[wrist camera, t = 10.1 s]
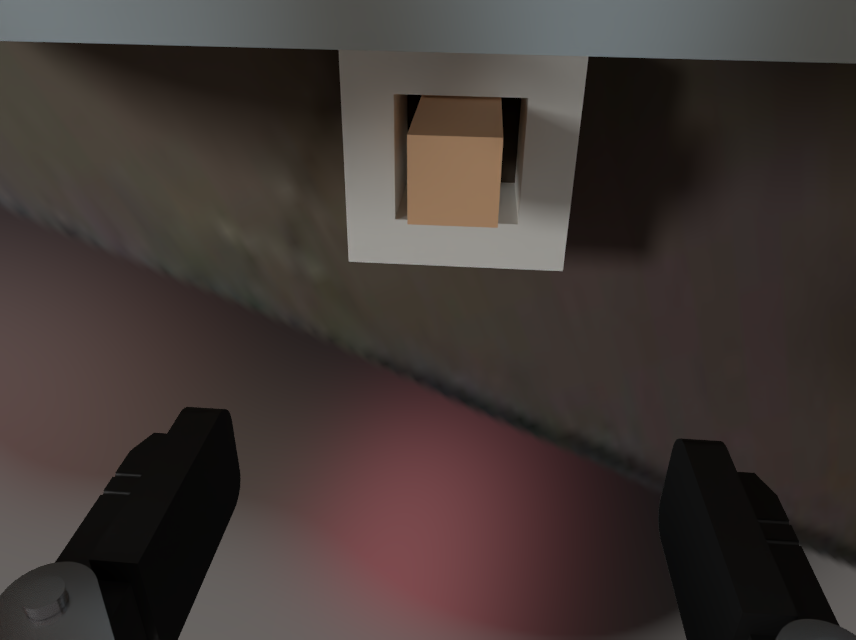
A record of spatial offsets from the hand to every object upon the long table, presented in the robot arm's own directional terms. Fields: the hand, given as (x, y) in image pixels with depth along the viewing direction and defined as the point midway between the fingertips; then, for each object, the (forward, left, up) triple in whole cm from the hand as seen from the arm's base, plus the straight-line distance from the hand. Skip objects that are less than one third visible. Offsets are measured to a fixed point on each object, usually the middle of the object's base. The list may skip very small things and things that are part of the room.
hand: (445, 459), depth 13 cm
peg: (0, -1, -22) cm, 22 cm away
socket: (0, 0, -22) cm, 22 cm away
